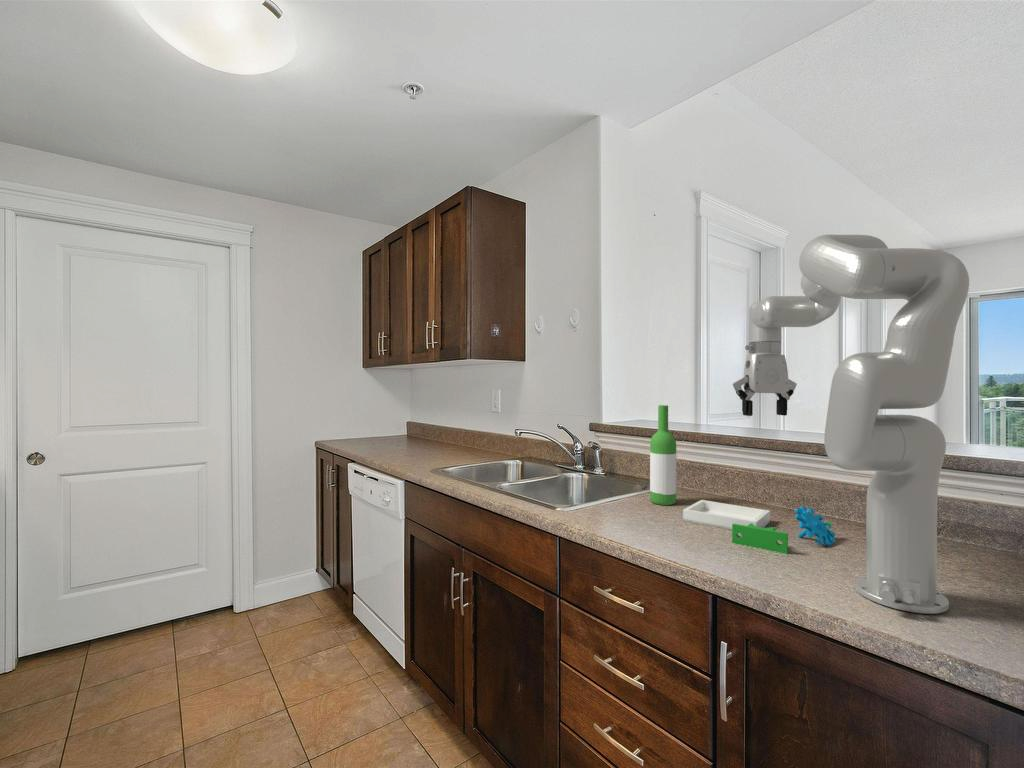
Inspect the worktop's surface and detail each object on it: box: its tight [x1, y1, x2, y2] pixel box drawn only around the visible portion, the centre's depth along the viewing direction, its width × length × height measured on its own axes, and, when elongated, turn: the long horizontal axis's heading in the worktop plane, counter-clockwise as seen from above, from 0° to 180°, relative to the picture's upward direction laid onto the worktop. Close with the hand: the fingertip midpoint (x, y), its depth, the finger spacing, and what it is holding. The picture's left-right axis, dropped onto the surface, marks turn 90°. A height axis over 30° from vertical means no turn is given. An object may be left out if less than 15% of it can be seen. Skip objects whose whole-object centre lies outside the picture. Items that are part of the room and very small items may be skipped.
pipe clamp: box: [731, 523, 789, 555], centre depth 110 cm, size 11×4×5 cm, turn 51°
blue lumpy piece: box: [794, 505, 837, 547], centre depth 114 cm, size 11×6×10 cm
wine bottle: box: [649, 404, 677, 506], centre depth 148 cm, size 8×8×30 cm
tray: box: [682, 499, 771, 531], centre depth 129 cm, size 14×18×3 cm
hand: (764, 415), depth 126 cm, fingers open, 9 cm apart
